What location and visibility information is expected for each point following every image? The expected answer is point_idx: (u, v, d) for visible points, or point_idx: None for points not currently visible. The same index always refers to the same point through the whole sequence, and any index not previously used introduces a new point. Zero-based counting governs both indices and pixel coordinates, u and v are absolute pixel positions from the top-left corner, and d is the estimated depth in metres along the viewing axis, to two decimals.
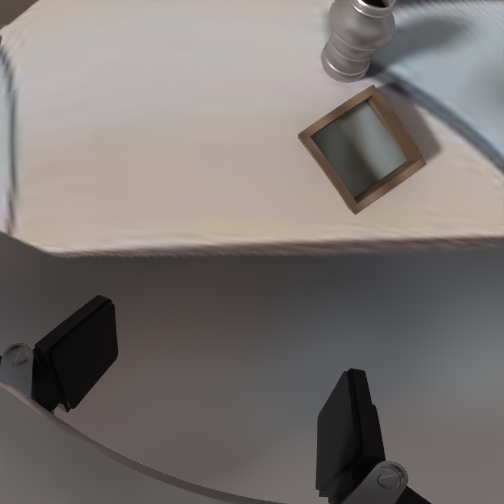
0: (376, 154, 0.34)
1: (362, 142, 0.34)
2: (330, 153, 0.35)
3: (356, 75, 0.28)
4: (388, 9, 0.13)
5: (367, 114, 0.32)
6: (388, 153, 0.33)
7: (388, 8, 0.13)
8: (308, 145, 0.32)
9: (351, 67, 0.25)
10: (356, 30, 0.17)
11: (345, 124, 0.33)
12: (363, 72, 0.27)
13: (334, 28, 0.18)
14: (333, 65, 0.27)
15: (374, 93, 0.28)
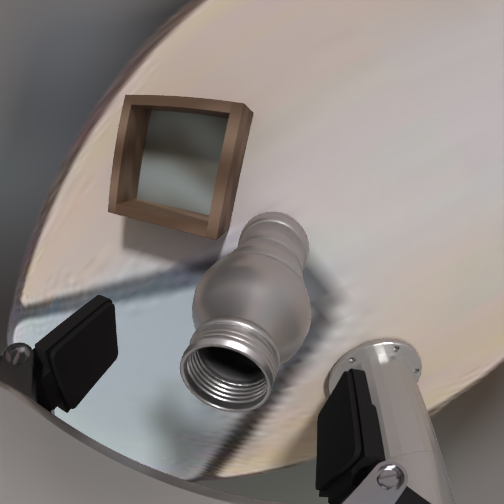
0: (165, 172, 0.28)
1: (186, 169, 0.27)
2: (206, 126, 0.26)
3: (242, 234, 0.24)
4: None
5: (206, 204, 0.28)
6: (156, 186, 0.28)
7: (181, 362, 0.10)
8: (222, 102, 0.21)
9: (246, 236, 0.22)
10: (230, 279, 0.13)
11: (217, 170, 0.27)
12: None
13: (274, 261, 0.14)
14: (273, 223, 0.23)
15: (206, 230, 0.25)
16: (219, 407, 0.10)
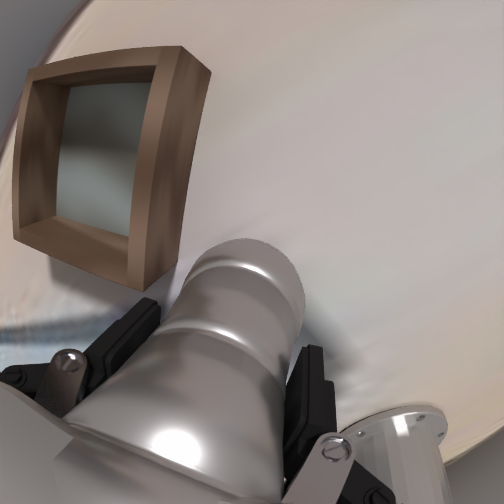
0: (84, 176, 0.16)
1: (111, 170, 0.16)
2: (137, 100, 0.14)
3: None
4: None
5: None
6: (75, 197, 0.17)
7: None
8: (146, 50, 0.10)
9: (177, 301, 0.10)
10: None
11: None
12: None
13: None
14: (235, 270, 0.12)
15: (127, 275, 0.13)
16: None
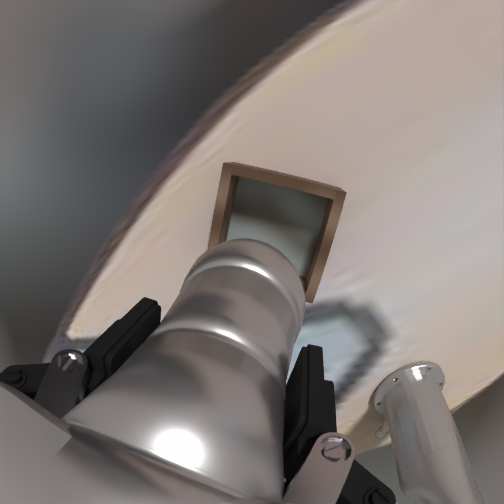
0: (255, 236, 0.32)
1: (277, 234, 0.32)
2: (297, 197, 0.30)
3: None
4: None
5: (294, 266, 0.32)
6: None
7: None
8: (327, 189, 0.25)
9: (176, 301, 0.10)
10: None
11: (306, 238, 0.31)
12: None
13: None
14: (235, 270, 0.12)
15: None
16: None
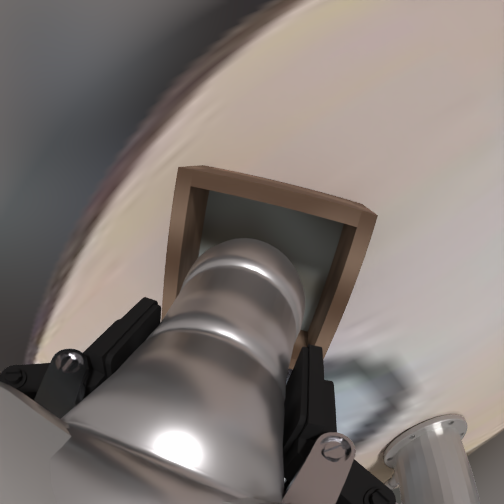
0: None
1: None
2: (298, 218, 0.20)
3: None
4: None
5: None
6: None
7: None
8: (347, 210, 0.15)
9: (176, 301, 0.10)
10: None
11: (310, 279, 0.21)
12: None
13: None
14: (234, 270, 0.12)
15: None
16: None
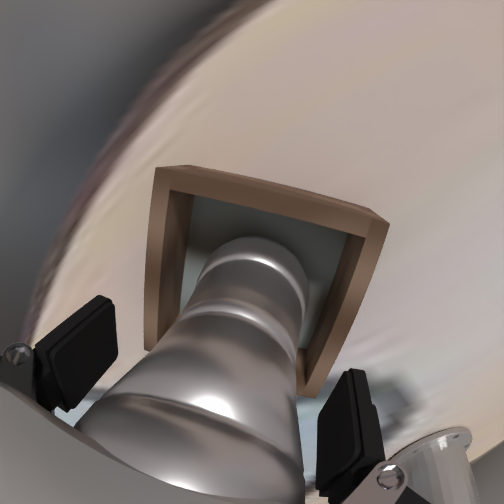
0: None
1: None
2: (296, 225, 0.17)
3: None
4: None
5: None
6: None
7: None
8: (355, 217, 0.13)
9: (199, 289, 0.12)
10: None
11: (310, 293, 0.19)
12: None
13: (221, 451, 0.04)
14: (251, 263, 0.13)
15: (303, 389, 0.16)
16: None
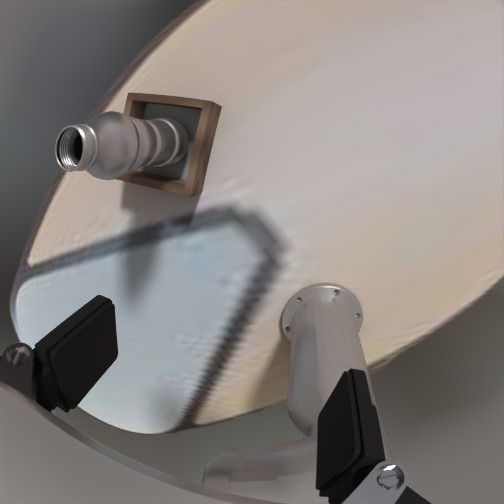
0: None
1: None
2: (187, 116, 0.34)
3: None
4: (57, 143, 0.17)
5: (185, 173, 0.37)
6: None
7: (56, 143, 0.17)
8: (197, 100, 0.29)
9: None
10: (94, 119, 0.20)
11: None
12: None
13: (120, 113, 0.21)
14: (156, 119, 0.30)
15: (184, 190, 0.34)
16: (66, 170, 0.18)
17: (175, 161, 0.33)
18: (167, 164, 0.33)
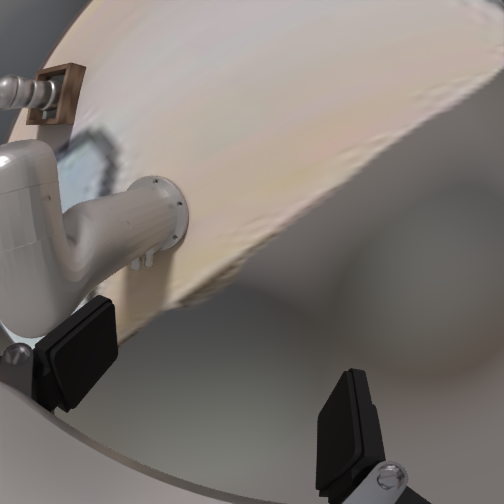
0: None
1: None
2: None
3: None
4: None
5: None
6: (49, 111, 0.41)
7: None
8: (65, 64, 0.34)
9: None
10: None
11: None
12: None
13: None
14: None
15: (55, 120, 0.38)
16: None
17: (54, 104, 0.37)
18: (48, 107, 0.37)
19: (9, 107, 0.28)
